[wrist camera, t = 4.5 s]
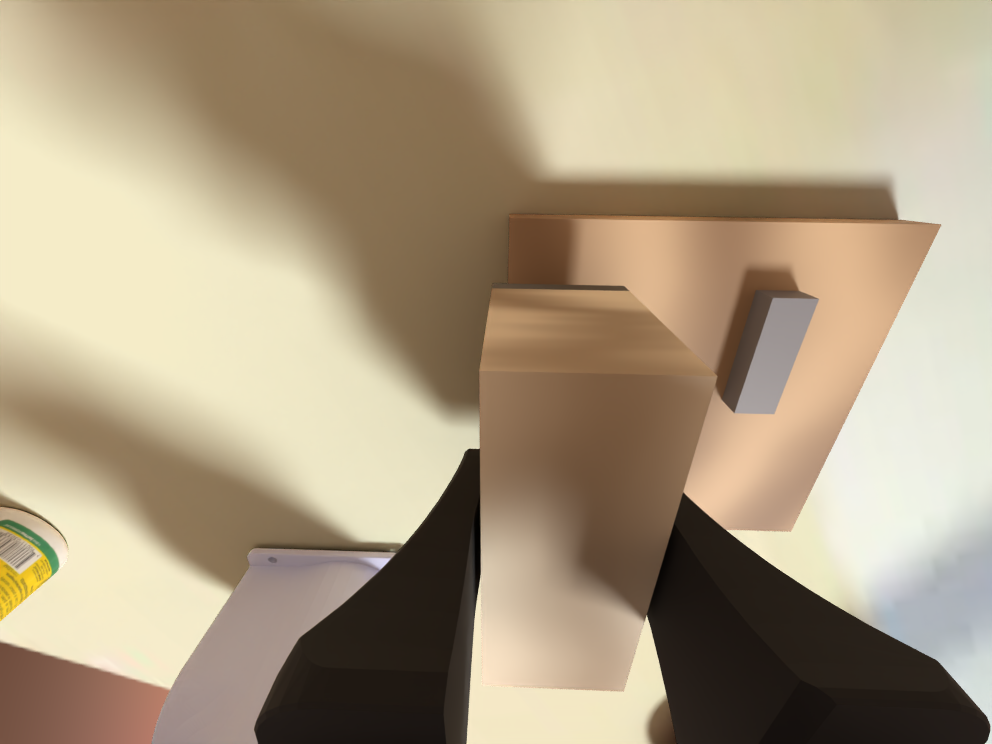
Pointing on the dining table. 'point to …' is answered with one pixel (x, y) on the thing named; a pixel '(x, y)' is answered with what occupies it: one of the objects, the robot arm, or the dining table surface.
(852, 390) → the oak board
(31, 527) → the supplement bottle
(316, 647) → the robot arm
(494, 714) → the dining table surface
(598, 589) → the block
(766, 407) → the grey rectangular block
